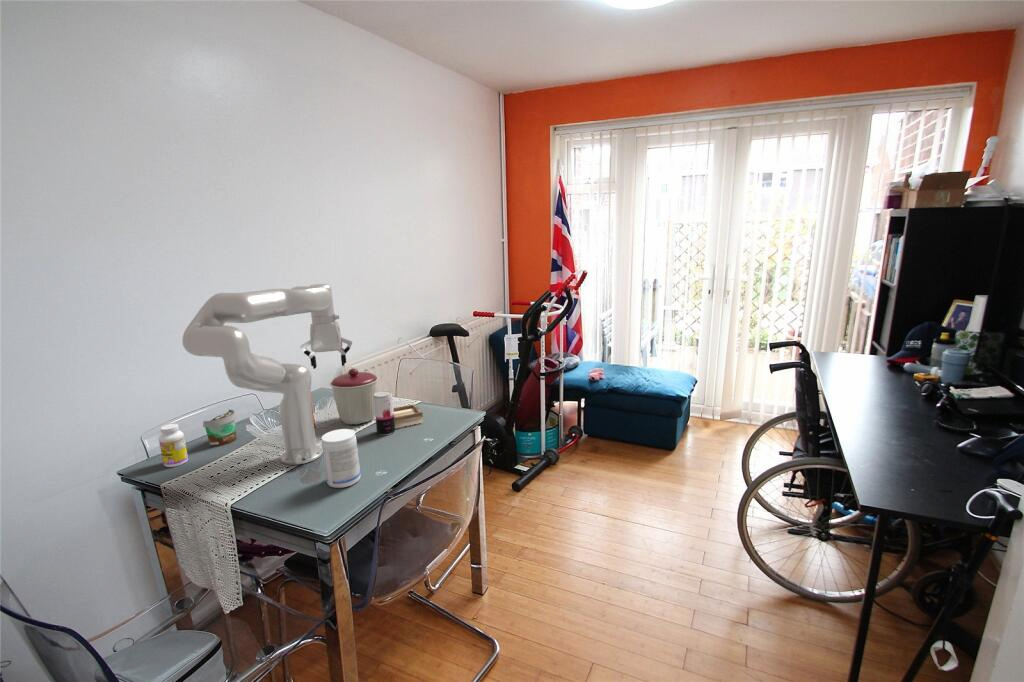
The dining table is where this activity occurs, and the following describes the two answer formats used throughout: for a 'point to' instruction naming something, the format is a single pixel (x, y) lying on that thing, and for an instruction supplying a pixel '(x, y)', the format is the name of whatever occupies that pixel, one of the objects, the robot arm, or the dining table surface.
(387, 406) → the beverage can
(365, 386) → the canister
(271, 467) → the dining table surface
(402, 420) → the wooden tray
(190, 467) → the dining table surface
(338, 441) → the supplement tub
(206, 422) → the food container
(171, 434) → the supplement bottle
